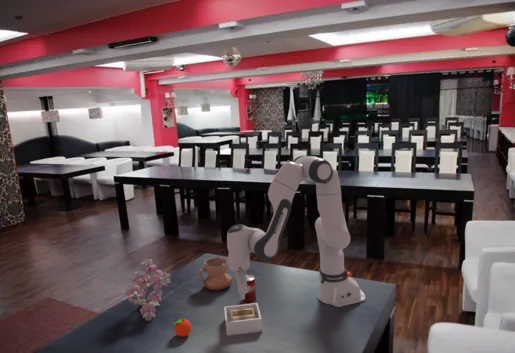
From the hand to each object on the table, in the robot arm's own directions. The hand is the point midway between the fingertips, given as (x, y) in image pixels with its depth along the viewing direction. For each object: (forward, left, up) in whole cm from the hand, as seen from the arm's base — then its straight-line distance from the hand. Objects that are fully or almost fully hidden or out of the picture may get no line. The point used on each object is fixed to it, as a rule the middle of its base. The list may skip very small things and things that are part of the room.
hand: (241, 293), depth 166 cm
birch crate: (0, 0, -14) cm, 14 cm away
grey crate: (0, 0, -15) cm, 15 cm away
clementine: (+26, +2, -15) cm, 30 cm away
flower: (+42, -19, -15) cm, 49 cm away
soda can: (-5, -20, -15) cm, 26 cm away
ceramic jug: (+10, -38, -15) cm, 42 cm away
